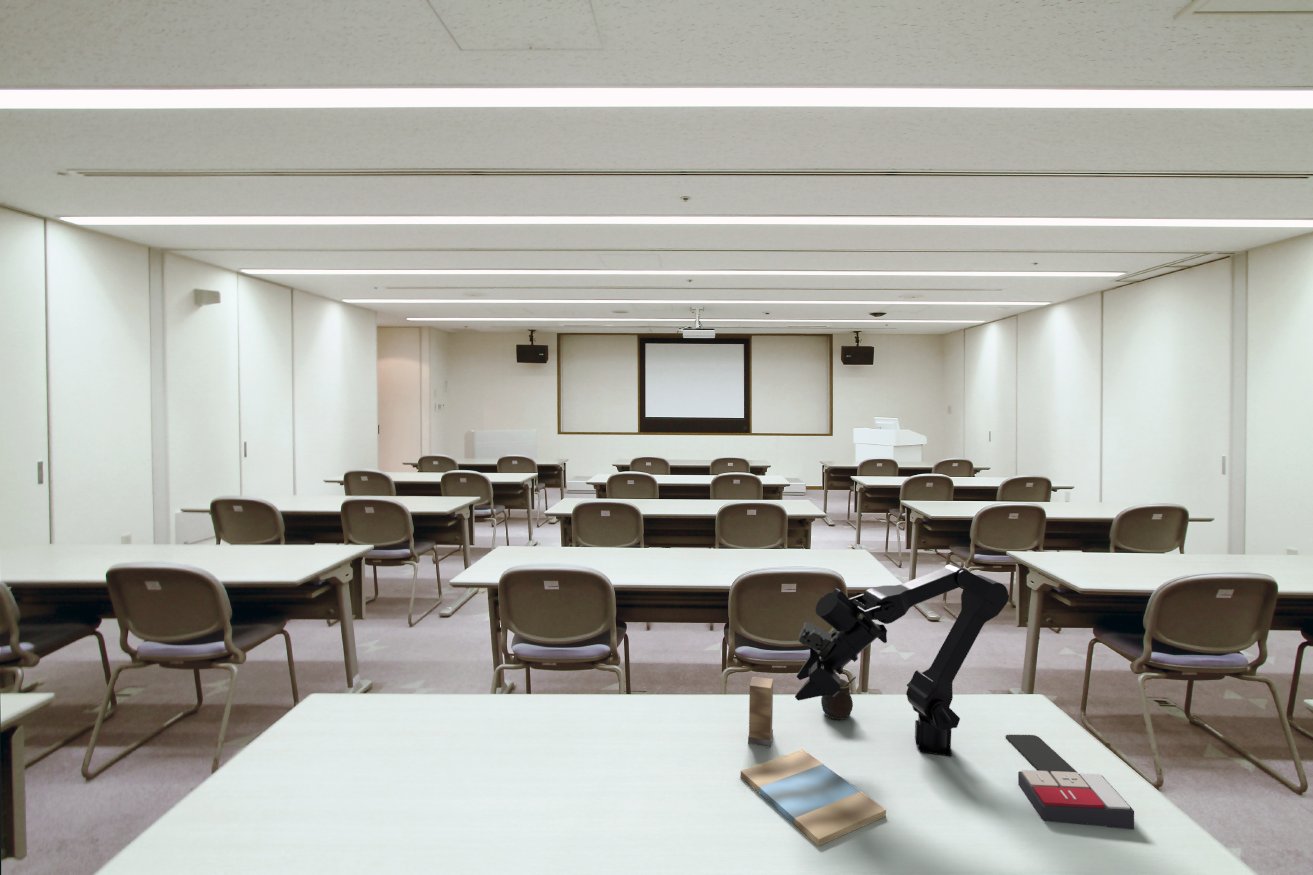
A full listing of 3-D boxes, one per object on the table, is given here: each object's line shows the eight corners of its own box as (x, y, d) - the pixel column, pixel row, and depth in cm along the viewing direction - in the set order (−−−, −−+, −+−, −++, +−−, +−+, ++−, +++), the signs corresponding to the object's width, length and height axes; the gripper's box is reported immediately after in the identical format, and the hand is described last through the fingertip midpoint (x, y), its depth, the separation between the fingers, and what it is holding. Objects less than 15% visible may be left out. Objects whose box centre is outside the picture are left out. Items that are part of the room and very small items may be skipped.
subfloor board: (740, 776, 126) (740, 770, 126) (802, 754, 134) (802, 749, 134) (818, 845, 107) (818, 839, 107) (885, 815, 115) (886, 809, 115)
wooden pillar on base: (772, 735, 141) (773, 678, 140) (770, 747, 137) (771, 688, 136) (751, 732, 143) (752, 675, 142) (748, 743, 138) (748, 685, 137)
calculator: (1017, 766, 124) (1101, 770, 122) (1017, 788, 125) (1101, 791, 123) (1042, 802, 114) (1135, 807, 111) (1042, 825, 114) (1135, 830, 112)
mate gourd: (818, 706, 155) (820, 666, 154) (851, 709, 154) (852, 668, 153) (822, 721, 148) (824, 679, 147) (856, 724, 146) (858, 682, 146)
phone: (1036, 734, 142) (1080, 774, 127) (1036, 738, 142) (1080, 778, 127) (1003, 734, 142) (1043, 774, 127) (1003, 737, 142) (1043, 778, 127)
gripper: (821, 597, 142) (772, 642, 146) (821, 629, 124) (765, 680, 128) (859, 634, 141) (808, 678, 145) (864, 671, 123) (807, 721, 127)
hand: (797, 687), depth 136 cm, fingers open, 9 cm apart
